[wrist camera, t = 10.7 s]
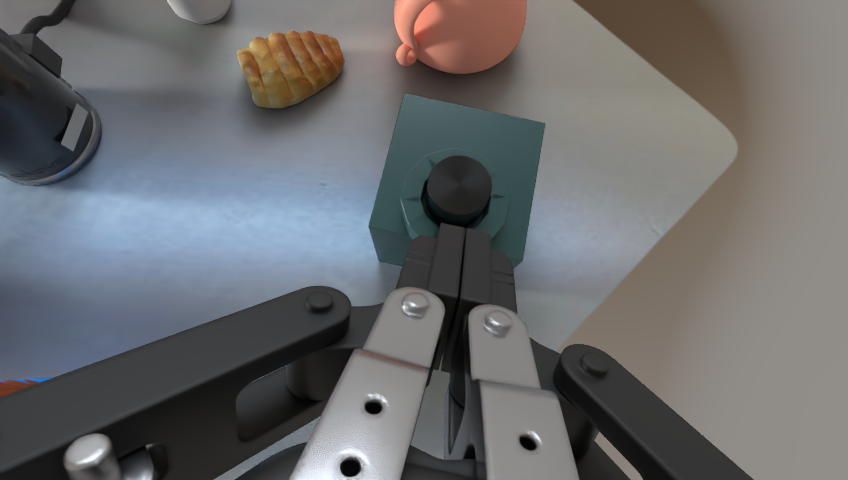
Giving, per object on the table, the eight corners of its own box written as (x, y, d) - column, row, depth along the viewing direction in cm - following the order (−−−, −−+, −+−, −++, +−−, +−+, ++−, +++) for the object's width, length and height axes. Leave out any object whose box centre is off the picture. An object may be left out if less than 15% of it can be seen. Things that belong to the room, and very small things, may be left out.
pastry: (329, 31, 43) (322, 1, 40) (356, 86, 42) (352, 60, 38) (238, 64, 42) (222, 36, 38) (263, 122, 41) (248, 98, 37)
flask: (491, 296, 37) (529, 267, 26) (376, 270, 37) (361, 230, 26) (512, 180, 40) (554, 106, 28) (405, 156, 40) (403, 74, 29)
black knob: (478, 234, 26) (485, 221, 24) (420, 221, 26) (421, 206, 24) (489, 179, 27) (497, 162, 25) (432, 167, 27) (435, 148, 25)
